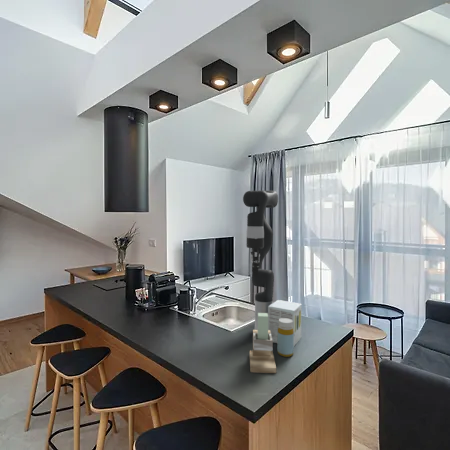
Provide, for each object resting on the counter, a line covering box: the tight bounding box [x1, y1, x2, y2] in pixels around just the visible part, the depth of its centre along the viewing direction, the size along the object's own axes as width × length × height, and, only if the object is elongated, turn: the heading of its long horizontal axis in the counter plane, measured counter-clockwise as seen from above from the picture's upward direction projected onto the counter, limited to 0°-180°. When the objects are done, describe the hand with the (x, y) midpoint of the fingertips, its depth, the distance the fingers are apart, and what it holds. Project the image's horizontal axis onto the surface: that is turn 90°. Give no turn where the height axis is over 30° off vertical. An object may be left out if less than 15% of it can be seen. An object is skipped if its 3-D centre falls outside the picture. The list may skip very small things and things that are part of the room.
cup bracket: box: [249, 329, 277, 374], centre depth 119 cm, size 14×10×12 cm
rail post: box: [258, 313, 268, 340], centre depth 117 cm, size 4×4×12 cm
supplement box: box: [268, 299, 303, 347], centre depth 142 cm, size 13×13×18 cm
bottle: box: [276, 318, 295, 358], centre depth 127 cm, size 7×7×15 cm
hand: (254, 273), depth 124 cm, fingers open, 8 cm apart
